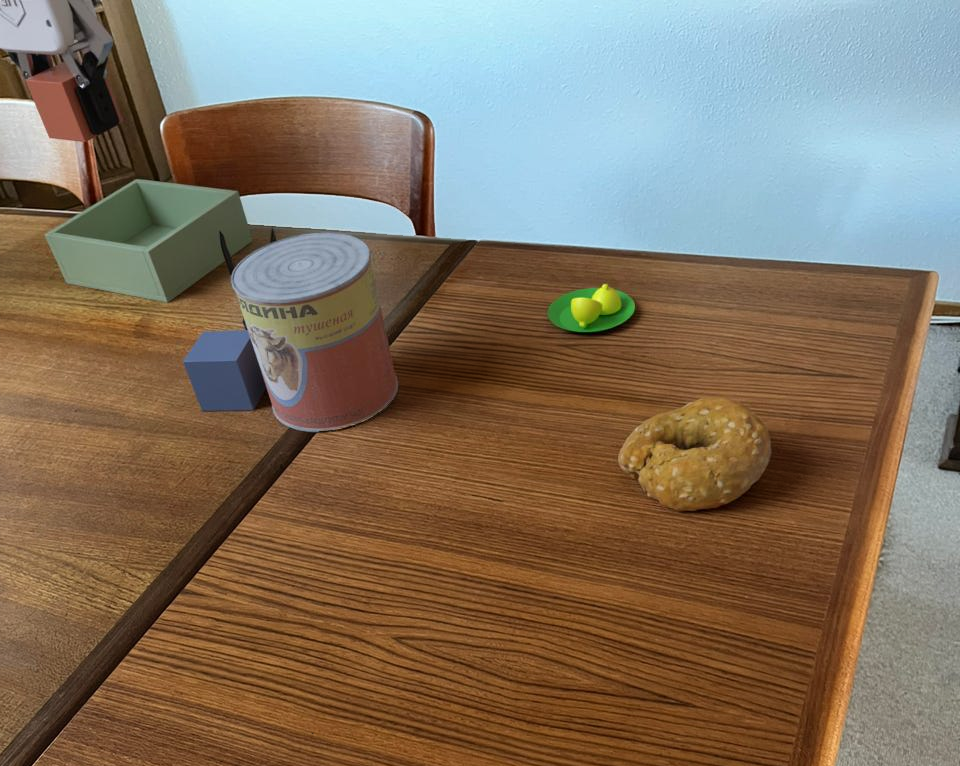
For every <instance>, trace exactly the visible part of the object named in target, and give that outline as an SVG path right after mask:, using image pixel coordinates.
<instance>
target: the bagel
mask: <svg viewBox="0 0 960 766" xmlns="http://www.w3.org/2000/svg"><path fill="white" fill-rule="evenodd" d="M771 445H772V441H771V438H770V434H769V430H768V427H767V425H766V424H764V422H763V421H762V419H760V418H759V417H758V415H757V414H756V413H755V412H754V411H752V410H751V408H750V407H748V406H747V405H745V404H744V403H743V402H741V401H740V400H732V399H730V398H728V397H722V396H715V397H714V396H713V397H701V398H698V399H697V400H695V401H690V402H688V403H687V404H685V405H684V406H681V407H678V408H676V409H673V410H670V411H665V412H661V413H657V414H655V415H654V416H652V417H650V418H647V419H645V420H644V421H643V423H642V424H640V425H638V426H636V428H635V429H633V431H632V432H631V433H630V434H629V436H628V437H627V438H626V440H625V441H624V443H623V445H622V447H621V448H620V450H619V454H618V456H617V458H618V459H617V460H618V465H619V468H620V469H621V471H622V472H623V473H624V474H626V475H629V476H630V477H631V478H632V479H633V480H638V482H639V484H640V487H641V488H642V490H643V491H644V492H646V493H647V497H648V498H651V499H653V500H656V501H659V504H660V505H661V506H664V507H667V508H670V509H672V510H674V511H677V512H686V511H689V512H694V511H697V510H710V509H716V508H719V507H721V506H725V505H727V504H729V503H731V502H733V501H735V500H737V499H738V498H739V497H741V496H742V495H743V494H745V493H746V492H747V491H749V489H750V488H751V487H752V485H754V484H755V483H756V482H758V481H759V480H760V479H761V476H762V475H763V474H764V472H765V470H767V467H768V466H769V463H770V459H771V455H772V446H771Z"/></svg>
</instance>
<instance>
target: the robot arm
mask: <svg viewBox="0 0 960 766" xmlns="http://www.w3.org/2000/svg"><path fill="white" fill-rule="evenodd" d="M75 40H76V42H75ZM113 46H114V39H113V37H112V35H111V34H110V33H109V31H108V30H107V29H106V28H105V27H104V26H103V24H102V23H101V22H100V20H98V15H97V13H96V10H95V7H94V4H93V1H92V0H0V50H3V52H5V53H6V54H7V55H8V56H9V58H10V60H11V61H12V62H13V63H14V64H15V65H16V66H17V67H18V68H19V69H20V71H21V75H22V77H23V79H24V81H25V80H26V79H28V78H30V77H33V76H35V75H37V74H39V73H41V72H43V71H45V70H48V69H50V68H52V67H54V66H55V65H54V62H53V58H52V56H53V55H54V56H55V55H60V56H61V58H62V60H63V62H65V63H66V65H67V67H68V68H69V70H70V72H71V74H72V76H73V77H74V79H75V81H76V83H77V84H78V85H79V87H77V88H75V89H74V90H75V93H76V95H77V98H78V100H79V103H80V105H81V108H82V110H83V113H84V116H85V118H86V121H87V123H88V126H89V128H90V131H91V133H92V134H93V135H98V136H100V135H102V134H104V133H106V132H109V130H112V129H113V128H115V127H117V126H119V125H120V124H119V122H120V120H119V117H118V114H117V112H116V109H115V106H114V104H113V101H112V98H111V95H110V93H109V90H108V87H107V84H106V82H105V79H104V78H106V77H107V78H108V71H107V64H108V60H109V55H110V53H111V50H112V48H113ZM80 51H81V52H82V54H83V58H82V61H80V60H79V59H78V57H77V54H76V53H78V52H80ZM80 62H82V65H81V64H80Z"/></svg>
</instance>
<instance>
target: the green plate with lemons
mask: <svg viewBox="0 0 960 766" xmlns="http://www.w3.org/2000/svg"><path fill="white" fill-rule="evenodd" d="M635 309H636V304H635V301H634V299H633V298H632V297H631V296H630V295H628V294H626V293H625V292H623V291H620V290H617V289H614V288H613V287H611V286H609V284H608V283H603V284H602V285H601V287H589V288H582V289H577V290H574V291H570V292H567V293H565V294H563V295H561V296H559V297H558V298H556V299H555V300H554V301H552V303H551V304H550V305H549V306H548V308H547V317H548V319H549V321H550V322H551V323H552V324H553V325H554V326H556V327H558V328H560V329H562V330H565V331H570V332H577V333H595V332H601V331H606V330H608V329H613V328H614V327H617V326H619V325H621V324H623V323H625V322H626V321H627V320H628V319H630V318H631V317H632V316H633V314H634V313H635Z"/></svg>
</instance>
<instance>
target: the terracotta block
mask: <svg viewBox="0 0 960 766" xmlns="http://www.w3.org/2000/svg"><path fill="white" fill-rule="evenodd" d="M79 62H80V64H81V65H82V61H79ZM53 66H54V67H52V68H50V69H48V70H45V71H43V72H41V73H39V74H37V75H35V76H33V77H30V78H28V79H26V80H25V79H24V81H25V83H26V86H27V89H28V91H29V93H30V95H31V98H32V100H33V104H34V105H35V108H36V110H37V112H38V115H39V117H40V120H41V122H42V124H43V127H44V129H45V131H46V134H47V137H48V138H49V139H53V140H64V141H70V142H71V141H72V142H80V143H86V142H88V141H91V140H92V139H94V138H97V137H98V136H99V135H93V134H92V133H91V131H90V128H89V126H88V123H87V121H86V118H85V116H84V113H83V110H82V108H81V105H80V103H79V100H78V98H77V95H76V93H75V90H74V89H75V88H77V87H79V85H78V84H77V83H76V81H75V79H74V77H73V76H72V74H71V72H70V70H69V68H68V67H67V65H66V63H65V61H63V62H60V63H58V64H56V65H53ZM104 79H105V82H106V84H107V87H108V90H109V93H110V95H111V98H112V101H113V104H114V106H115V109H116V112H117V114H118V117H119V120H120V122H119V125H120V124H122V123H124V119H123V116H122V114H121V111H120V108H119V106H118V103H117V101H116V97H115V95H114V93H113V92H114V91H113V90H112V87H111V84H110V81H109V79H108V76H107V77H106V78H104Z"/></svg>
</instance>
